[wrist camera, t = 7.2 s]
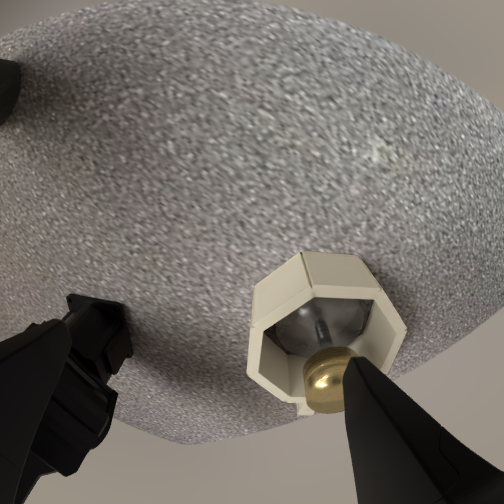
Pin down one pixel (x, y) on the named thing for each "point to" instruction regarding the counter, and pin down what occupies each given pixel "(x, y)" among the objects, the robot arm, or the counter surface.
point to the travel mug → (8, 87)
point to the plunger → (323, 346)
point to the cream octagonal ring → (301, 291)
